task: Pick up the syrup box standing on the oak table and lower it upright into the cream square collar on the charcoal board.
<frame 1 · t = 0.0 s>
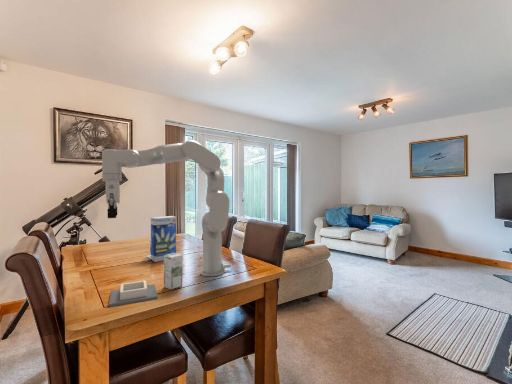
hand: (112, 216, 117), 31 cm above the table, tool pointing down, fingers open, 9 cm apart
string lights box: (163, 259, 162), on the table
collar holder: (133, 295, 108), on the table
syrup box: (173, 287, 118), on the table
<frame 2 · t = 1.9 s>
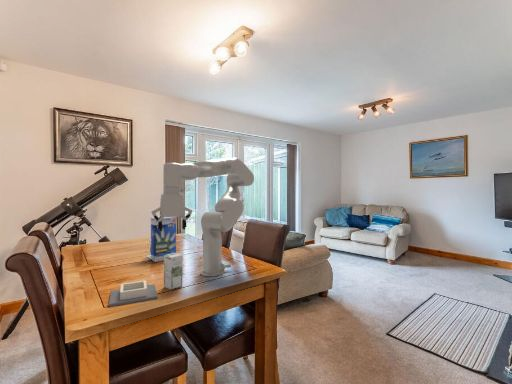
hand: (172, 229, 117), 25 cm above the table, tool pointing down, fingers open, 9 cm apart
nothing on the table moved.
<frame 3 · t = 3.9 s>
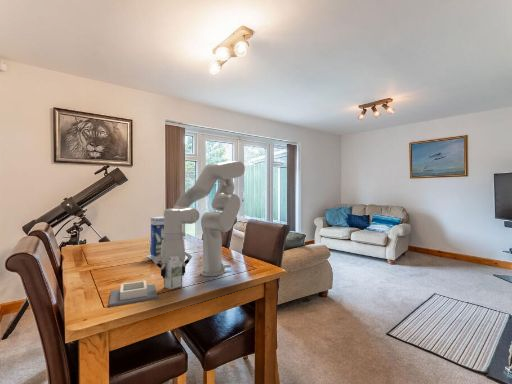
hand: (173, 275, 118), 5 cm above the table, tool pointing down, fingers closed on syrup box, 7 cm apart
syrup box: (173, 287, 118), on the table, touching gripper
everything else where it was.
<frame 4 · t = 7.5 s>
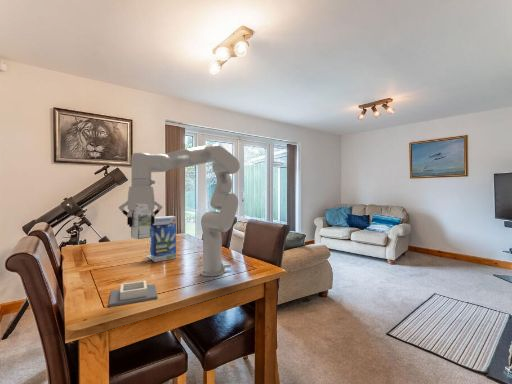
hand: (141, 225, 109), 28 cm above the table, tool pointing down, fingers closed on syrup box, 7 cm apart
syrup box: (141, 238, 109), point 23 cm above the table, touching gripper
everything else where it was.
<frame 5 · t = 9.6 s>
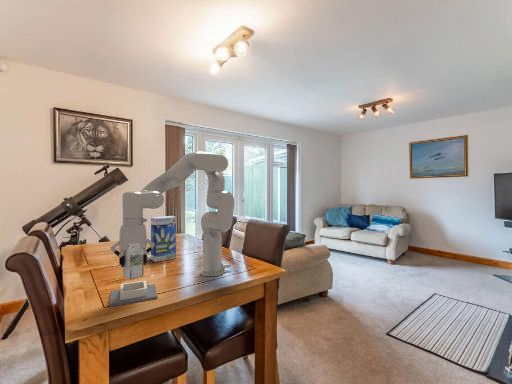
hand: (133, 264, 108), 13 cm above the table, tool pointing down, fingers closed on syrup box, 7 cm apart
syrup box: (133, 277, 108), point 8 cm above the table, touching gripper
everything else where it was.
when the fingers open (7 cm above the table, at t = 11.2 s): syrup box drops 1 cm, resting on collar holder.
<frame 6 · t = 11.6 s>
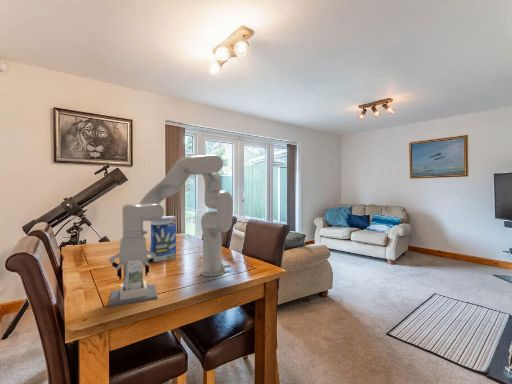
hand: (133, 276, 108), 8 cm above the table, tool pointing down, fingers open, 9 cm apart
syrup box: (133, 293, 108), point 1 cm above the table, touching collar holder
everything else where it was.
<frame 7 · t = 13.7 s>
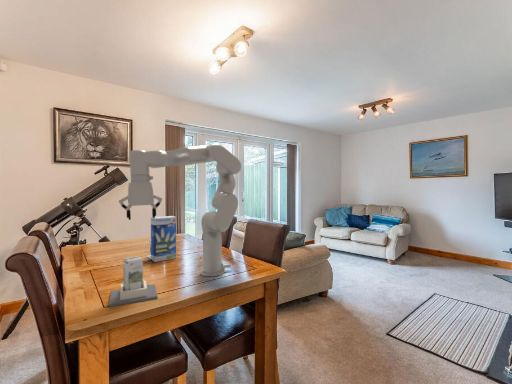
hand: (141, 218, 115), 31 cm above the table, tool pointing down, fingers open, 9 cm apart
nothing on the table moved.
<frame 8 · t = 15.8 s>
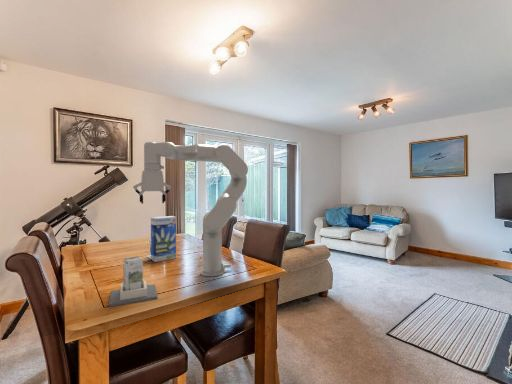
hand: (152, 203, 129), 36 cm above the table, tool pointing down, fingers open, 9 cm apart
nothing on the table moved.
at the end: syrup box 0.3 cm off-centre on the collar holder, point 0.8 cm above the collar holder's base; syrup box tilted 0°; the gripper is holding nothing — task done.
